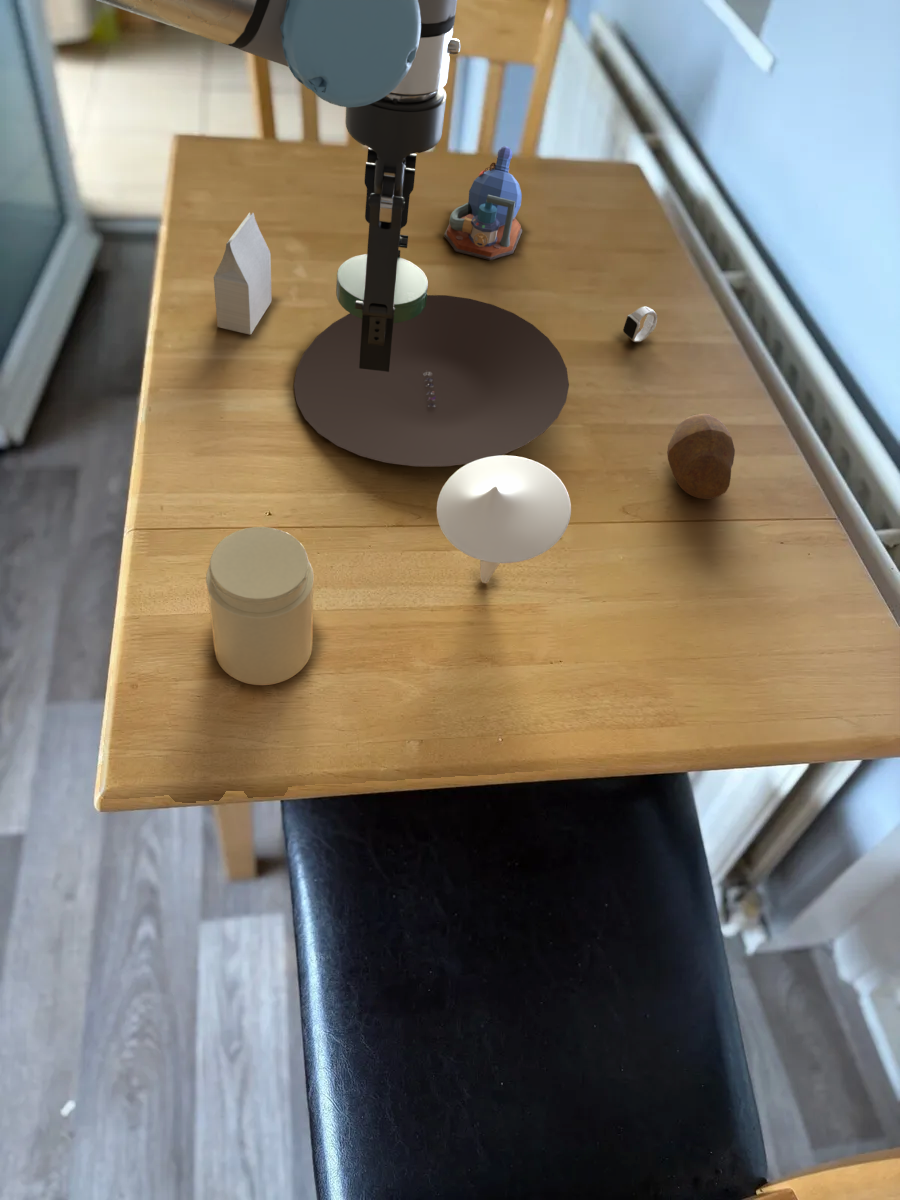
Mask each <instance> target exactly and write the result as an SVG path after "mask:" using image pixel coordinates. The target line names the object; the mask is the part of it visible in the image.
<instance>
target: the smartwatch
mask: <svg viewBox="0 0 900 1200" xmlns="http://www.w3.org/2000/svg"><path fill="white" fill-rule="evenodd" d="M645 316H646V317H645ZM644 317H645V319H644V322H643V327H642V328H640V327H641V320H642V319H643V318H644ZM657 324H658V314H657V313H656V312H655V311H654V309H652V308H651V307H649V306H641V307H639V308H637V309H635V310H634V311H633V312H632V313H630V314H628V315H627V316H626V318H625V322H624V326H623V329H622V331H623V333H624V334H625V335H626V337H628V338H629V340H631V341H632V342H634V343H641V342H642V341H644V340H646V339H647V338H648V337H649V336H650V335H651V334H652V333H653V332H654V331H655V329H656V326H657ZM640 329H641V330H640Z"/></svg>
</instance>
